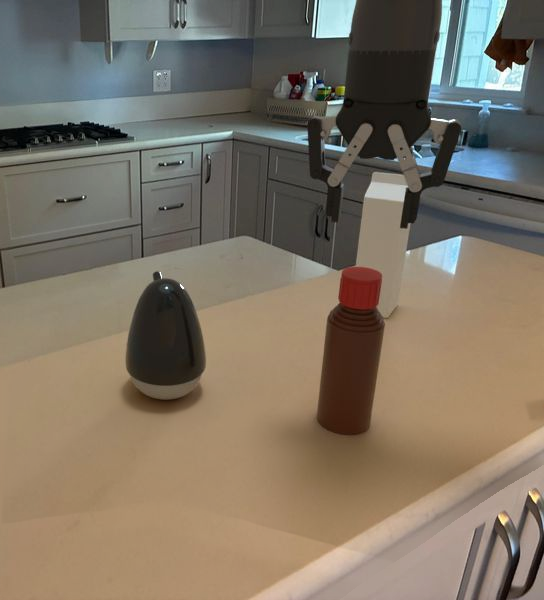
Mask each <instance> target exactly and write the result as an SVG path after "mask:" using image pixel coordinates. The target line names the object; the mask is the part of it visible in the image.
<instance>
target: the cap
mask: <svg viewBox="0 0 544 600" xmlns="http://www.w3.org/2000/svg"><path fill="white" fill-rule="evenodd" d="M339 279H340V280H339V288H338V289H339V290H338V302H339V303H341V304H342V305H344V306H346V307H349V308H353V309H360V310H366V309H372V308H375V307H377V305H378V304H379V297H380V291H381V284H382V274H381V273H380V272H379V271H377V270H374V269H371V268H366V267H356V266H350V267H349V266H348V267H347V268H344V269H342V271H341V277H340V278H339Z"/></svg>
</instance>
